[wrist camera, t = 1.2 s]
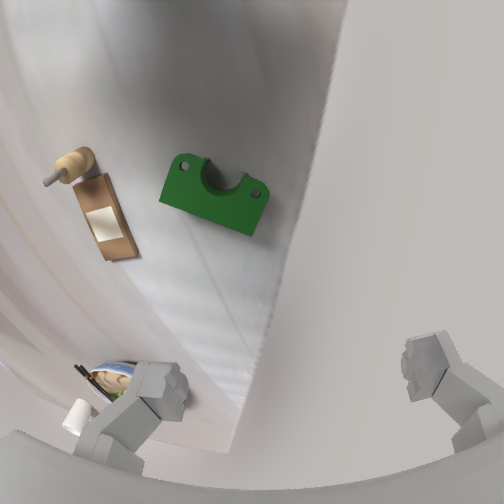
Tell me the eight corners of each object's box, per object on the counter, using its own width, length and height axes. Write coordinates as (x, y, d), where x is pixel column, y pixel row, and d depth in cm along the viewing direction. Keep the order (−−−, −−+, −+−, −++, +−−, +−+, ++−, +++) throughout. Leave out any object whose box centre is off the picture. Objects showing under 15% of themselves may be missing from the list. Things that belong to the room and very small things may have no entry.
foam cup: (75, 402, 83) (65, 430, 72) (71, 393, 78) (59, 422, 67) (97, 412, 84) (87, 440, 73) (94, 403, 79) (83, 433, 68)
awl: (72, 151, 33) (32, 173, 25) (90, 143, 32) (50, 164, 25) (79, 173, 35) (42, 200, 27) (98, 167, 34) (60, 192, 27)
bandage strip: (76, 183, 36) (72, 186, 34) (107, 172, 35) (102, 175, 34) (108, 256, 42) (105, 261, 41) (138, 251, 42) (135, 256, 40)
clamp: (252, 173, 39) (285, 192, 32) (236, 212, 41) (264, 239, 33) (170, 145, 32) (184, 156, 25) (154, 190, 34) (163, 215, 27)
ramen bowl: (197, 400, 67) (192, 427, 60) (125, 394, 70) (117, 417, 63) (158, 341, 53) (147, 374, 47) (77, 338, 57) (64, 365, 50)
